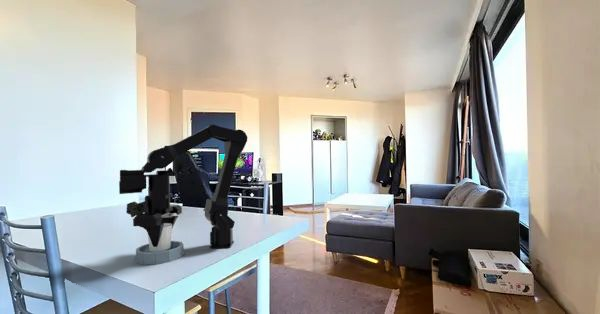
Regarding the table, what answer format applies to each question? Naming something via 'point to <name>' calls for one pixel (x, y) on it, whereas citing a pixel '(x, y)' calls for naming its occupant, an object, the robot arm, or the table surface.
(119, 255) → the table surface
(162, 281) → the table surface
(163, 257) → the bowl
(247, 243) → the table surface
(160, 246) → the shot glass
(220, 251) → the table surface
